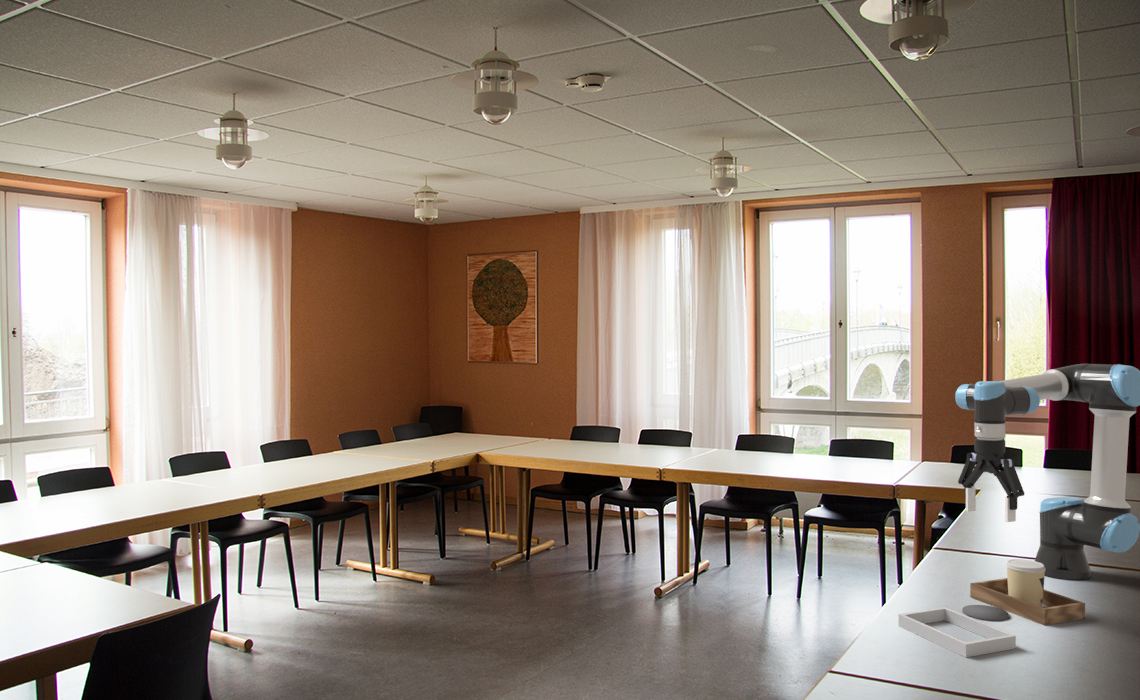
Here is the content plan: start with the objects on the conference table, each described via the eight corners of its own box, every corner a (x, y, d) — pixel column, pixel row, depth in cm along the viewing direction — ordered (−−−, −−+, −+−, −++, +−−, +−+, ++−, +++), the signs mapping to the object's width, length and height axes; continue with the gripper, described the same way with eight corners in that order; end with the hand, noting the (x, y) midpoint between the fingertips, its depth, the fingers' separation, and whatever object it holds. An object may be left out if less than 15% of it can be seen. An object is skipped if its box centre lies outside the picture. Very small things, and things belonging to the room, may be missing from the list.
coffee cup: (1050, 614, 220) (1050, 569, 220) (1012, 612, 222) (1012, 567, 222) (1038, 602, 229) (1038, 559, 229) (1001, 601, 231) (1001, 558, 231)
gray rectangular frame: (945, 618, 218) (945, 607, 218) (1015, 648, 197) (1015, 635, 197) (898, 625, 213) (898, 614, 213) (965, 657, 192) (965, 644, 192)
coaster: (984, 605, 228) (984, 602, 228) (1018, 617, 217) (1018, 615, 217) (953, 609, 224) (953, 607, 224) (985, 623, 214) (985, 620, 214)
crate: (1008, 591, 239) (1008, 577, 239) (1085, 618, 216) (1085, 603, 216) (970, 597, 234) (970, 583, 234) (1044, 625, 212) (1044, 609, 212)
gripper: (944, 433, 237) (944, 508, 237) (1016, 444, 213) (1017, 527, 213) (965, 432, 239) (965, 505, 239) (1039, 443, 215) (1039, 524, 216)
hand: (990, 516), depth 226 cm, fingers open, 13 cm apart
